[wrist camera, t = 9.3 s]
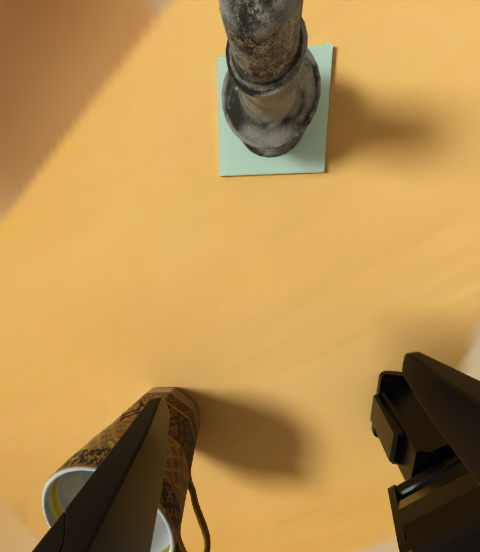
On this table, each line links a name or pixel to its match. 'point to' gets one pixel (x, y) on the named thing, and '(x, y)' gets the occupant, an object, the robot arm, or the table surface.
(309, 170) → the plate
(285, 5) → the grey stone tiered figure
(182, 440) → the ceramic cup
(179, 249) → the table surface
